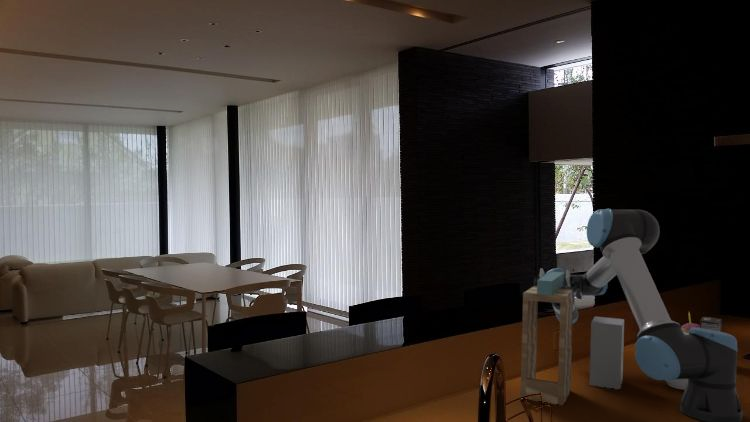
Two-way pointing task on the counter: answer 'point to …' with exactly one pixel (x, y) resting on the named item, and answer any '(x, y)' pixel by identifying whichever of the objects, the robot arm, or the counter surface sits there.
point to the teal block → (550, 283)
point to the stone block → (606, 352)
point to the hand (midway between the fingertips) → (554, 273)
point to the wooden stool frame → (529, 383)
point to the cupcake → (689, 325)
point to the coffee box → (711, 323)
